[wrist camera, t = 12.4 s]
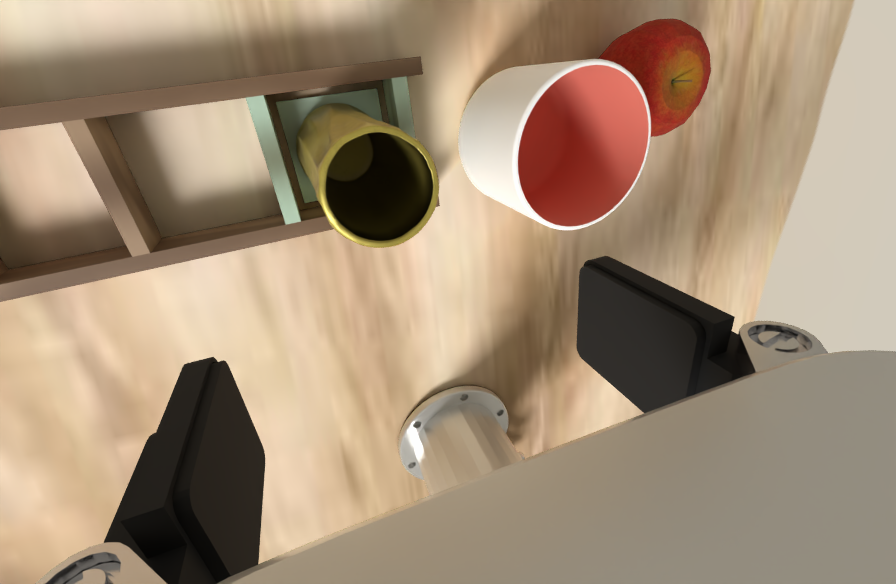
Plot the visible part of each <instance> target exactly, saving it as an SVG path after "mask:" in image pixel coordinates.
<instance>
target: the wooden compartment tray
mask: <svg viewBox="0 0 896 584" xmlns="http://www.w3.org/2000/svg"><path fill="white" fill-rule="evenodd" d="M421 74H423V72H422V64H421V57H413V58H405V59H396V60H388V61H380V62H372V63H363V64H355V65H347V66H339V67H330V68H322V69H314V70H306V71H297V72H289V73H281V74H273V75H264V76H256V77H248V78H240V79H231V80H223V81H215V82H207V83H198V84H190V85H182V86H174V87H165V88H157V89H149V90H141V91H132V92H124V93H116V94H108V95H99V96H91V97H83V98H75V99H66V100H58V101H50V102H42V103H33V104H25V105H17V106H9V107H0V130H5V129H13V128H21V127H28V126H36V125H43V124H51V123H58V122H62V123H63V125H64V127H65V129H66V131H67V133H68V135H69V137H70V139H71V141H72V143H73V145H74V146H75V148H76V150H77V152H78V154H79V156H80V158H81V160H82V162H83V164H84V166H85V167H86V169H87V171H88V173H89V175H90V177H91V179H92V181H93V183H94V185H95V187H96V188H97V190H98V192H99V194H100V196H101V198H102V200H103V202H104V204H105V206H106V208H107V210H108V211H109V213H110V215H111V217H112V219H113V221H114V223H115V225H116V227H117V229H118V231H119V232H120V234H121V236H122V238H123V240H124V242H125V244H126V246H123V247H118V248H113V249H108V250H103V251H98V252H93V253H88V254H83V255H78V256H73V257H68V258H64V259H59V260H54V261H49V262H44V263H39V264H34V265H29V266H24V267H19V268H14V269H9V270H8V269H7V267H6V266H5V264H4V263H3V261H2V260H1V258H0V302H2V301H7V300H11V299H16V298H20V297H25V296H29V295H34V294H39V293H43V292H48V291H52V290H57V289H62V288H66V287H71V286H75V285H80V284H84V283H89V282H94V281H98V280H103V279H107V278H112V277H116V276H121V275H126V274H130V273H135V272H139V271H144V270H149V269H153V268H158V267H162V266H167V265H171V264H176V263H181V262H185V261H190V260H194V259H199V258H203V257H208V256H213V255H217V254H222V253H226V252H231V251H236V250H240V249H245V248H249V247H254V246H258V245H263V244H268V243H272V242H277V241H281V240H286V239H290V238H295V237H300V236H304V235H309V234H313V233H318V232H322V231H327V230H332V229H334V228H333V227H332V226H331V225H330V224H329V221H328V219H327V217H326V215H325V213H324V210H323V208H322V206H320V207H315V208H310V209H305V210H300V211H299V207H298V204H297V200H296V197H295V194H294V190H293V187H292V183H291V180H290V177H289V173H288V170H287V167H286V163H285V160H284V156H283V153H282V150H281V146H280V143H279V139H278V136H277V133H276V129H275V126H274V122H273V119H272V116H271V112H270V109H269V105H268V102H267V99H266V95H270V94H277V93H285V92H292V91H300V90H307V89H315V88H322V87H330V86H338V85H345V84H353V83H360V82H368V81H375V80H382V82H383V88H384V94H385V100H386V106H387V112H388V118H389V124H390V125H392V126H395V127H398V128H399V129H401V130H402V131H403V132H405V133H406V134H408V135H410V136H411V137H413V138H415V131H414V124H413V117H412V110H411V103H410V97H409V90H408V83H407V76H413V75H421ZM239 98H246V101H247V104H248V107H249V110H250V113H251V116H252V119H253V123H254V126H255V129H256V132H257V135H258V138H259V142H260V145H261V148H262V151H263V154H264V157H265V161H266V164H267V167H268V170H269V173H270V176H271V179H272V183H273V186H274V189H275V192H276V195H277V198H278V202H279V205H280V208H281V211H282V214H280V215H275V216H270V217H265V218H260V219H256V220H251V221H246V222H241V223H236V224H231V225H226V226H221V227H216V228H211V229H206V230H201V231H196V232H192V233H187V234H182V235H177V236H172V237H167V238H162V237H161V235H160V233H159V231H158V229H157V226H156V224H155V222H154V220H153V218H152V216H151V214H150V212H149V210H148V208H147V205H146V203H145V201H144V199H143V197H142V195H141V193H140V191H139V189H138V186H137V184H136V182H135V180H134V178H133V176H132V174H131V172H130V170H129V167H128V165H127V163H126V161H125V159H124V157H123V155H122V153H121V151H120V148H119V146H118V144H117V142H116V140H115V138H114V136H113V134H112V132H111V129H110V127H109V125H108V123H107V121H106V119H105V117H104V116H111V115H119V114H126V113H134V112H141V111H149V110H156V109H164V108H171V107H179V106H187V105H194V104H202V103H209V102H217V101H224V100H232V99H239ZM330 103H343V104H348V105H351V106H354V107H356V108H358V109H360V110H361V111H363V112H365V113H366V114H367V115H369V116H370V117H371V118H373V119H375V120H377V121H382V122H383V120H382V114H381V108H380V103H379V97H378V91H377V88H375V89H367V90H360V91H353V92H345V93H338V94H331V95H324V96H316V97H309V98H302V99H295V100H287V101H280V102H276V105H277V109H278V112H279V116H280V119H281V123H282V126H283V130H284V133H285V136H286V140H287V143H288V147H289V150H290V154H291V157H292V161H293V164H294V168H295V171H296V175H297V178H298V182H299V185H300V189H301V192H302V196H303V199H304V203H308V202H313V201H318V199H317V196H316V192H315V189H314V187H313V185H312V183H311V181H310V179H309V178H308V177H307V175H306V174H305V172H304V171H303V169H302V167H301V165H300V162H299V160H298V157H297V152H296V139H297V134H298V131H299V129H300V127H301V125H302V123H303V121H304V120H305V118H306V117H307V116H308V115H309V114H310V113H311V112H312V111H314V110H315V109H317V108H319V107H321V106H323V105H326V104H330ZM415 139H416V138H415ZM437 206H440V205H439V197H438V200H437V204H436V207H437Z"/></svg>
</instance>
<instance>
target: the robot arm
mask: <svg viewBox="0 0 896 584" xmlns="http://www.w3.org/2000/svg"><path fill="white" fill-rule="evenodd" d="M734 318H735V317H734V316H731V315H729V314H727V313H725V312H723V311H721V310H719V309H717V308H715V307H713V306H711V305H708V304H706V303H704V302H702V301H700V300H698V299H696V298H694V297H692V296H690V295H688V294H686V293H683V292H681V291H679V290H677V289H675V288H673V287H671V286H669V285H667V284H665V283H663V282H661V281H658V280H656V279H654V278H652V277H650V276H648V275H646V274H644V273H642V272H640V271H638V270H635V269H633V268H631V267H629V266H627V265H625V264H623V263H621V262H619V261H617V260H615V259H613V258H610V257H608V256H604V257H600V258H596V259H592V260H588V261H586V262H585V264H584V267H582V268H581V270H580V275H579V299H578V324H577V351H578V353H579V355H580V357H581V358H582V359H583V360H584V361H585V362H586V363H587V364H589V365H590V366H591V367H592V368H593V369H594V370H595V371H597V372H598V373H599V374H600V375H601V376H602V377H604V378H605V379H606V380H607V381H608V382H609V383H610V384H612V385H613V386H614V387H615V388H616V389H617V390H618V391H620V392H621V393H622V394H623V395H624V396H625V397H626V398H628V399H629V400H630V401H631V402H632V403H633V404H634V405H636V406H637V407H638V408H639V409H640V410H641V411H642V412H644V414H642V415H639V416H636V417H634V418H631V419H628V420H626V421H623V422H620V423H618V424H615V425H612V426H610V427H607V428H604V429H602V430H599V431H596V432H594V433H591V434H589V435H586V436H583V437H581V438H578V439H575V440H573V441H570V442H568V443H565V444H562V445H560V446H557V447H554V448H552V449H549V450H547V451H544V452H541V453H539V454H536V455H534V456H531V457H528V458H526V459H524V455H523V454H522V453H520V452H517V450H516V448H515V447H514V445H513V444H512V442H511V441H510V439H509V438H508V436H507V435H506V433H507V429H508V413H507V410H506V408H505V406H504V404H503V403H502V401H501V400H500V399H499V397H498V396H497V395H496V394H494V393H493V392H492V391H490V390H488V389H486V388H483V387H478V386H460V387H454V388H451V389H447V390H444V391H442V392H440V393H438V394H436V395H434V396H432V397H430V398H429V399H427V400H426V401H424V402H423V403H422V404H421V405H420V406H418V407H417V408H416V409H415V410H414V411H413V412H412V414H411V415H410V416H409V417H408V419H407V420H406V422H405V424H404V425H403V427H402V430H401V432H400V435H399V441H398V450H399V455H400V458H401V461H402V464H403V466H404V467H405V469H406V470H407V471H408V472H409V473H410V474H411V475H413V476H415V477H417V478H419V479H422V480H424V481H425V484H426V486H427V489H428V492H429V495H430V496H427V497H425V498H422V499H420V500H417V501H414V502H412V503H409V504H407V505H404V506H402V507H399V508H396V509H394V510H391V511H389V512H386V513H384V514H381V515H378V516H376V517H373V518H371V519H368V520H366V521H363V522H361V523H358V524H356V525H353V526H350V527H348V528H345V529H343V530H340V531H338V532H335V533H333V534H330V535H328V536H325V537H323V538H320V539H318V540H315V541H313V542H310V543H308V544H305V545H303V546H301V547H298V548H296V549H293V550H291V551H289V552H286V553H284V554H282V555H279V556H277V557H275V558H272V559H270V560H268V561H265V562H263V563H261V564H258V560H259V545H260V531H261V516H262V501H263V487H264V472H265V454H264V449H263V446H262V443H261V441H260V439H259V436H258V434H257V432H256V429H255V427H254V425H253V422H252V420H251V418H250V415H249V413H248V411H247V408H246V406H245V403H244V401H243V399H242V396H241V394H240V392H239V389H238V387H237V385H236V382H235V380H234V378H233V375H232V373H231V371H230V368H229V366H228V364H227V363H226V361H220V362H217V360H216V359H215V358H214V357H211V358H207V359H203V360H199V361H195V362H191V363H187V364H184V366H183V368H182V370H181V373H180V375H179V378H178V380H177V383H176V385H175V387H174V390H173V392H172V395H171V397H170V400H169V402H168V405H167V407H166V410H165V412H164V415H163V417H162V419H161V422H160V424H159V427H158V429H157V432H156V433H154V434H152V435H151V436H150V437H149V438H148V440H147V442H146V444H145V446H144V449H143V451H142V453H141V456H140V458H139V460H138V463H137V465H136V468H135V470H134V472H133V475H132V477H131V479H130V482H129V484H128V486H127V489H126V491H125V493H124V496H123V498H122V501H121V503H120V505H119V508H118V510H117V512H116V515H115V517H114V519H113V522H112V524H111V526H110V529H109V531H108V534H107V536H106V538H105V541H104V543H102V544H99V545H95V546H92V547H89V548H87V549H85V550H83V551H80V552H78V553H76V554H74V555H72V556H70V557H69V558H68V559H66V560H65V561H63V562H62V563H60V564H59V565H57V566H56V567H54V568H53V569H51V570H50V571H49V572H48V573H47V574H46V575H45V576H43V577H42V578H41V579H40V580H39V581H38V582H37V583H35V584H896V352H893V351H874V350H871V351H843V352H835V353H828V352H827V351H826V349H825V348H824V347H823V345H822V344H821V342H820V341H819V340H818V339H817V338H816V337H815V336H814V335H812V334H810V333H809V332H807V331H805V330H803V329H800V328H798V327H795V326H792V325H788V324H784V323H779V322H773V321H755V322H749V323H747V324H744V325H743V326H742V327H741V328H740V330H739V334H736V333H734V332H732V331H731V330H732V326H733V322H734Z"/></svg>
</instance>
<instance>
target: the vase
mask: <svg viewBox="0 0 896 584" xmlns="http://www.w3.org/2000/svg"><path fill="white" fill-rule="evenodd" d="M296 152H297V157H298V160H299V162H300V165H301V167H302V169H303V171H304V172H305V174H306V175H307V177H308V178H309V179H310V181H311V183H312V185H313V187H314V189H315V192H316V196H317V199H318V201H319V203H320V204H321V206H322V208H323V210H324V213H325V215H326V217H327V219H328V221H329V224H330V225H331V226H332V227H333V228H334V229H335V230H336V231H337V232H338V233H340V234H341V235H342V236H344V237H345V238H347V239H349V240H351V241H353V242H355V243H358V244H360V245H363V246H367V247H374V248H384V247H392V246H396V245H399V244H401V243H404V242H405V241H407V240H409V239H410V238H412V237H413V236H415V235H416V234H417V233H418V232H419V231H420V230H421V229H422V228H423V227H424V226H425V224H426V223H427V222H428V220H429V219H430V217H431V215H432V214H433V212H434V210H435V207H436V204H437V200H438V194H439V181H438V176H437V171H436V167H435V164H434V162H433V159H432V157H431V156H430V154H429V153H428V151H427V150H426V149H425V148H424V146H423V145H422V144H421V143H420V142H419V141H418V140H417V139H415V138H413V137H411V136H410V135H408V134H406V133H405V132H403V131H402V130H401V129H399V128H398V127H395V126H392V125H390V124H387V123H385V122H382V121H377V120H375V119H373V118H371V117H370V116H369V115H367V114H366V113H365V112H363V111H361V110H360V109H358V108H356V107H354V106H351V105H348V104H343V103H330V104H326V105H323V106H321V107H319V108H317V109H315V110H314V111H312V112H311V113H310V114H309V115H308V116H307V117H306V118H305V120H304V121H303V123H302V125H301V127H300V129H299V131H298V134H297V139H296Z"/></svg>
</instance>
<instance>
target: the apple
mask: <svg viewBox="0 0 896 584" xmlns="http://www.w3.org/2000/svg"><path fill="white" fill-rule="evenodd" d="M599 59H603V60H608V61H611V62H614V63H616V64H619V65H621V66H622V67H623V68H625V69H626V70H628V71H629V72H630V73H631V74H632V75H633V76H634V77H635V78H636V80H637V81H638V82H639V84H640V85H641V87H642V89H643V91H644V93H645V96H646V98H647V102H648V105H649V110H650V117H651V137H652V136H659V135H663V134H666V133H668V132H669V131H671V130H673V129H675V128H677V127H678V126H680V125H682V124H683V123H685V122H686V120H687V119H688V118H689V117H690V116H691V114H692V113H693V111H694V110H695V109H696V107H697V106H698V105H699V103H700V101H701V99H702V97H703V95H704V92H705V90H706V88H707V84H708V80H709V76H710V72H711V68H710V54H709V50H708V47H707V45H706V43H705V41H704V39H703V37H702V35H701V32H699V31H698V30H697V29H695V28H694V27H692V26H690V25H688V24H686V23H685V22H683V21H681V20H677V19H657V20H653V21H649V22H646V23H644V24H642V25H641V26H639V27H637V28H635V29H633V30H632V31H630V32H628V33H626V34H624V35H622V36H620V37H619V38H617V39H616V40H615V41H613V42H612V43H611V45H610V46H609V47H608V48H607V49H606V50H605V51H604V53H603V54H602V55H601V56H600V57H599Z"/></svg>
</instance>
